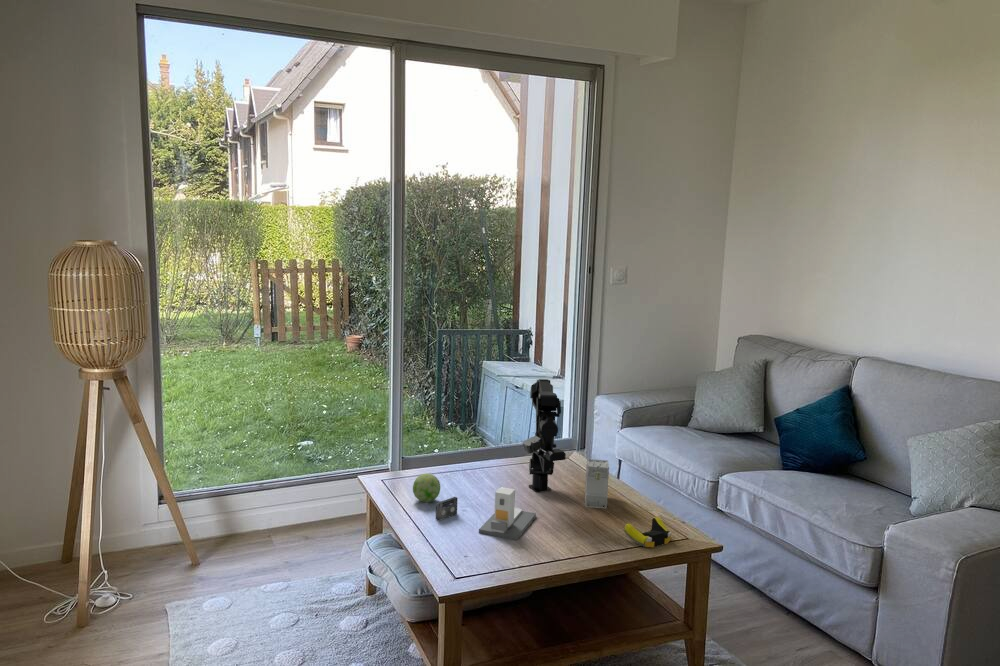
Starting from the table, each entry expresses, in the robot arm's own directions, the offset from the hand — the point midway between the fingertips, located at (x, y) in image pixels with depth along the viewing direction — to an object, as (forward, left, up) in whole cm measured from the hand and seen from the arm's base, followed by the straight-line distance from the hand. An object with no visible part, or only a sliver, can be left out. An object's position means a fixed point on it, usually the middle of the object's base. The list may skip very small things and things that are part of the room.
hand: (544, 472), depth 255 cm
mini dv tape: (-2, -36, -12) cm, 38 cm away
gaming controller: (+38, +18, -12) cm, 44 cm away
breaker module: (+14, -22, -10) cm, 29 cm away
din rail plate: (+11, -19, -12) cm, 25 cm away
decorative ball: (-17, -38, -12) cm, 43 cm away
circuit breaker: (+3, +20, -12) cm, 24 cm away
